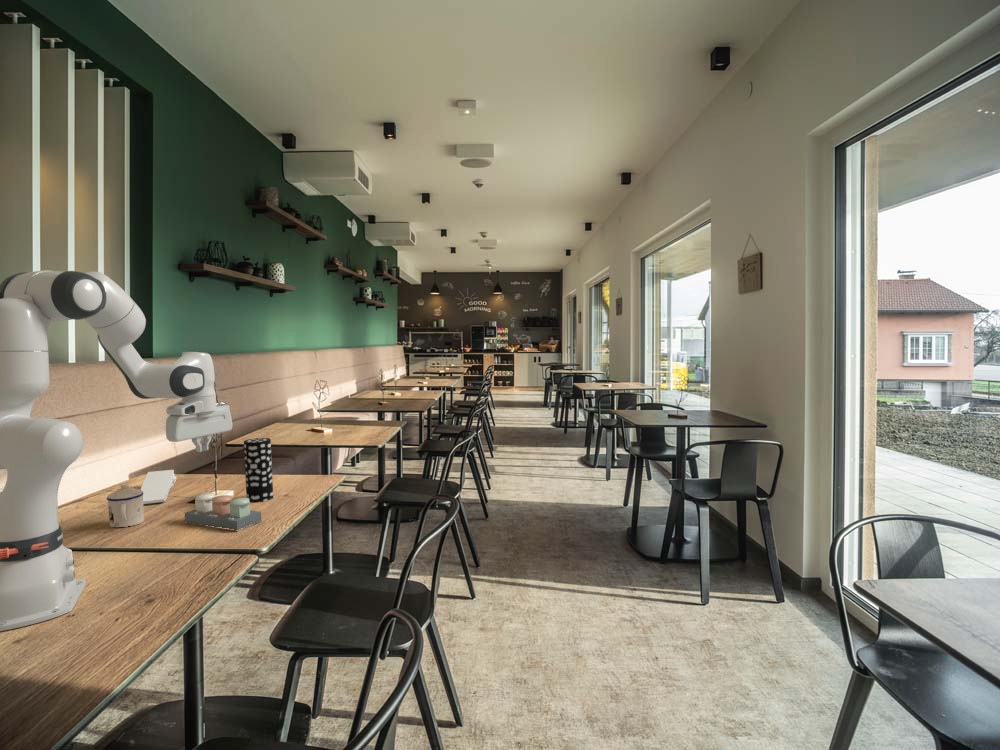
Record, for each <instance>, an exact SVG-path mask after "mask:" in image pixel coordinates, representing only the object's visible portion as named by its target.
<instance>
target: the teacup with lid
mask: <svg viewBox="0 0 1000 750" xmlns="http://www.w3.org/2000/svg"><path fill="white" fill-rule="evenodd" d="M140 489H141V488H140ZM140 489H139V488H134V487H132V486H131V487H130V485H129V484H128V483H127V484H125V483H124V484H121V485H120V488H118V489H117V490H116V491H114V492H111V493H109V494H108V495H107V497H106V500H107V504H108V505H107V507H108V520H109V526H110V527H111V528H113V527H125V528H129V527H128V526H131V527H134V526H133V525H135V526H137V524H138V525H140V524H142V523H143V522H144V521H145V510H144V504H143V491H142V490H140Z"/></svg>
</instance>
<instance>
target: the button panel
mask: <svg viewBox="0 0 1000 750" xmlns="http://www.w3.org/2000/svg"><path fill="white" fill-rule="evenodd" d="M260 521H262V511H258V510H252V509H250V515H247V516H244V517H242V518H235V517H230V513H227V514H225V515H216V514H213V510H211V511H208V512H205V513H203V512H197V511H196V508H195V509H192V510H188V511H186V512H184V523H185V522H187V523H186V524H190V523H194V524H193V525H196V524H201V525H200V526H202V525H208V526H214V527H222V528H229V529H234V530H239V529H241V528H244V527H246V526H249V525H251V524H254V523H257V522H260ZM260 523H261V522H260ZM257 524H258V523H257Z"/></svg>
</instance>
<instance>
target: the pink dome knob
mask: <svg viewBox="0 0 1000 750" xmlns="http://www.w3.org/2000/svg"><path fill="white" fill-rule="evenodd" d="M231 500H233V498H232V495H231V494H230V495H228V494H226V495H225V494H224V495H218V496H215V497H214V498H212V510H213V514H216V515H225V514H227V513H230V501H231Z"/></svg>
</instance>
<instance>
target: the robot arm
mask: <svg viewBox="0 0 1000 750" xmlns="http://www.w3.org/2000/svg"><path fill="white" fill-rule="evenodd" d="M71 320H76V321H77V320H85V321H86V323H88V325H90V327H91V328H92V329H93V330H94V331H95V332H96V333H97V340H98V342H99V344H100V345H101V347H102V349H103V350H104V352H105V353H106V354H107V356H108V357H109V358H110V360H111V361H112V362H113V363H114V365H115V366H116V368H117V369H118V370H119V371H120V372H121V374H122V375H123V377H124V378H125V380H126V383H127V385H128V387H129V390H130V391H131V392H132V394H133V395H134V396H136V398H139V399H143V400H148V399H149V400H150V399H151V400H152V399H182V400H179V401H177V402H176V403H174V404H171V405H170V406H168V407H166V409H165V411H166V414H167V415H168V416H167V418H166V420H165V421H166V422H165V439H166V440H168V442H173V443H178V442H183V441H187V440H191V442H192V444H193V445H194V447H195V451H196V453H202V452H206V451H209V448H210V447H209V444H210V442H211V441H212V435H216V434H222V433H227V432H231V431H232V429H233V425H234V424H233V420H232V419H233V418H232V415H231V414H232V413H231V411H230V410H231V409H230V405H229V404H228V403H227V402H225V401H221V402H217V397H216V396H217V395H216V390H215V382H216V376H215V375H216V374H215V367H214V361H213V358H212V356H211V354H209V353H208V352H207V351H206V352H205V351H201V350H185V351H183V352H182V354H181V356H180V357H179V358H178V359H177V360H175V361H172V362H171V363H159V364H158V363H153V362H149V361H146V360H144V359H143V358H142V357H141V355H140V353H139V352H138V351H137V350H136V348H135V347H134V346H133V344H132V343H134V342H135V341H136V340H138V339H139V338H140V337H141V335H142V334H143V333H144V331H145V329H146V325H147V319H146V317H145V314H144V312H143V311H142V309H141V308H140V307H139V305H138V304H137V303H136V302H135V301H134V300H133V298H131V296H130V295H129V294H128V293H127V292H126V291H125V290H124V289H123V288H122V287H121V286H120V285H119V284H118V283H116V282H115V281H114V280H112V279H111V278H110V277H109V276H108V275H107V274H105V273H103V272H100V271H87V272H82V271H76V270H68V271H62V270H61V271H60V270H50V269H49V270H48V269H47V270H37V271H36V270H35V271H31V272H23V271H22V272H18V273H15V274H13V275H10V276H7V277H6V278H4V279H3V281H2V282H1V283H0V470H6V472H7V476H6V482H5V485H4V487H3V489H2V491H0V632H2V631H9V630H13V629H14V630H15V629H17V628H23V627H26V626H31V625H34V624H35V625H36V624H37V623H41V622H46V621H48V620H51V619H54V618H57V617H60V616H63V615H65V614H67V613H69V612H71V611H72V610H73V609H74V607H75V605H76V604H77V602H78V601H79V598H80V597H81V596H80V595H82V592H83V590H84V589H85V587H86V585H87V583H86V582H87V581H86V579H84V578H76V571H75V569H74V568H75V567H74V565H75V560H74V559H73V551H72V549H70V548H68V547H66V546H65V545H64V544H63V541H64V540H63V539H64V537H63V536H64V534H63V533H64V532H63V530H62V526H61V525H59V524H60V523H59V509H58V508H59V507H58V506H59V505H58V504H59V503H58V494H59V487H60V484H61V481H62V478H63V475H64V474H65V473H66V470H67V469H68V468H69V467H70V466H71V465H72V464H73V463H75V462H76V461H77V459H78V458H79V457H80V456H81V453H82V451H83V448H84V436H83V434H82V430H80V428H79V427H78V426H77V425H75V424H74V423H73V422H69V421H66V420H61V419H57V418H52V417H31V413H32V409H33V407H34V403H35V402H36V400H37V399H38V398H39V396H41V395H43V394H45V392H47V391H48V389H49V388H50V360H49V356H50V355H49V342H48V341H49V340H48V335H47V331H48V328H49V326H50V323H52V322H62V321H63V322H65V321H71ZM202 439H203V441H202ZM201 441H202V443H201Z"/></svg>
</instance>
